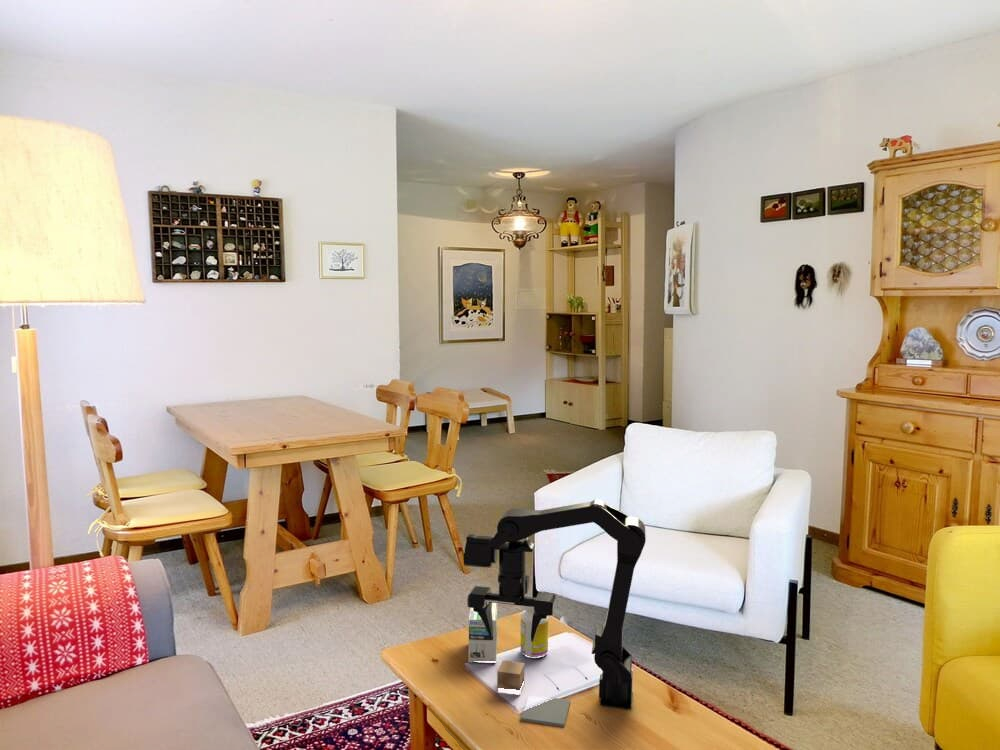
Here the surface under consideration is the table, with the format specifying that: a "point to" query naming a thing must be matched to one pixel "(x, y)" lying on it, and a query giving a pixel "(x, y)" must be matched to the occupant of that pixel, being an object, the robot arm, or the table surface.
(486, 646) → the light bulb box
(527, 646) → the supplement bottle
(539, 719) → the rubber mat
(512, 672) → the walnut cube
